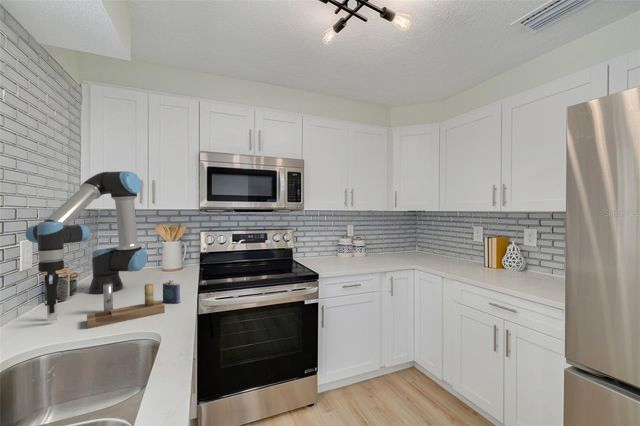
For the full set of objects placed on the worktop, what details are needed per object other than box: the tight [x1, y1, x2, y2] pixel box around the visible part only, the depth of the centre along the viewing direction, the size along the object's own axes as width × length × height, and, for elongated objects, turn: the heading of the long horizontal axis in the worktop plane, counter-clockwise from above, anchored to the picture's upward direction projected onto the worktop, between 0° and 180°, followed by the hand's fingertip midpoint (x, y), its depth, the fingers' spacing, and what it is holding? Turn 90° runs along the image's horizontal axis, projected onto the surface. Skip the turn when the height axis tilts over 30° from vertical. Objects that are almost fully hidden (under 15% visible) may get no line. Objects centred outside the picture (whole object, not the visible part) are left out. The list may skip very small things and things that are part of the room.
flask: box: [162, 279, 181, 305], centre depth 140 cm, size 9×3×11 cm, turn 74°
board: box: [86, 283, 166, 329], centre depth 122 cm, size 9×26×12 cm, turn 130°
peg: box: [103, 284, 114, 311], centre depth 128 cm, size 3×3×12 cm
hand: (52, 318), depth 118 cm, fingers open, 5 cm apart
